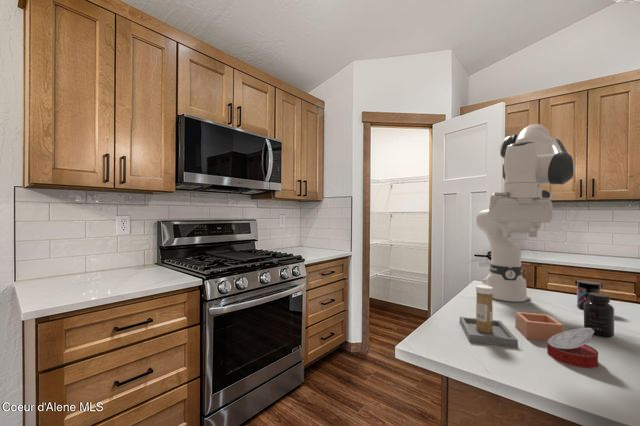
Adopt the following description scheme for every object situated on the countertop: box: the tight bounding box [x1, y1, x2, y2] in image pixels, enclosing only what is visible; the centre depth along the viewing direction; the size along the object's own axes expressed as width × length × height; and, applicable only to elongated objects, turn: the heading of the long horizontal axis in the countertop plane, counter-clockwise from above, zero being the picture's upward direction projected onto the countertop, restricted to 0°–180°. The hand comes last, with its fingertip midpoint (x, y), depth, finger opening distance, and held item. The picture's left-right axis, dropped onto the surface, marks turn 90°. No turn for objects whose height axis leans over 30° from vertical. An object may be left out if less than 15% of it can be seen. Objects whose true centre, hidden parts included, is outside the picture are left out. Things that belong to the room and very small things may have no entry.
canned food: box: [546, 327, 599, 369], centre depth 74 cm, size 11×10×10 cm
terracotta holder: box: [514, 311, 564, 342], centre depth 89 cm, size 9×9×5 cm
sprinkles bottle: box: [475, 284, 494, 333], centre depth 90 cm, size 5×5×13 cm
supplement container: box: [576, 279, 602, 311], centre depth 114 cm, size 7×7×10 cm
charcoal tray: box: [459, 316, 519, 348], centre depth 89 cm, size 15×12×2 cm
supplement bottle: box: [583, 292, 615, 339], centre depth 90 cm, size 7×7×12 cm
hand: (519, 237), depth 93 cm, fingers open, 8 cm apart
